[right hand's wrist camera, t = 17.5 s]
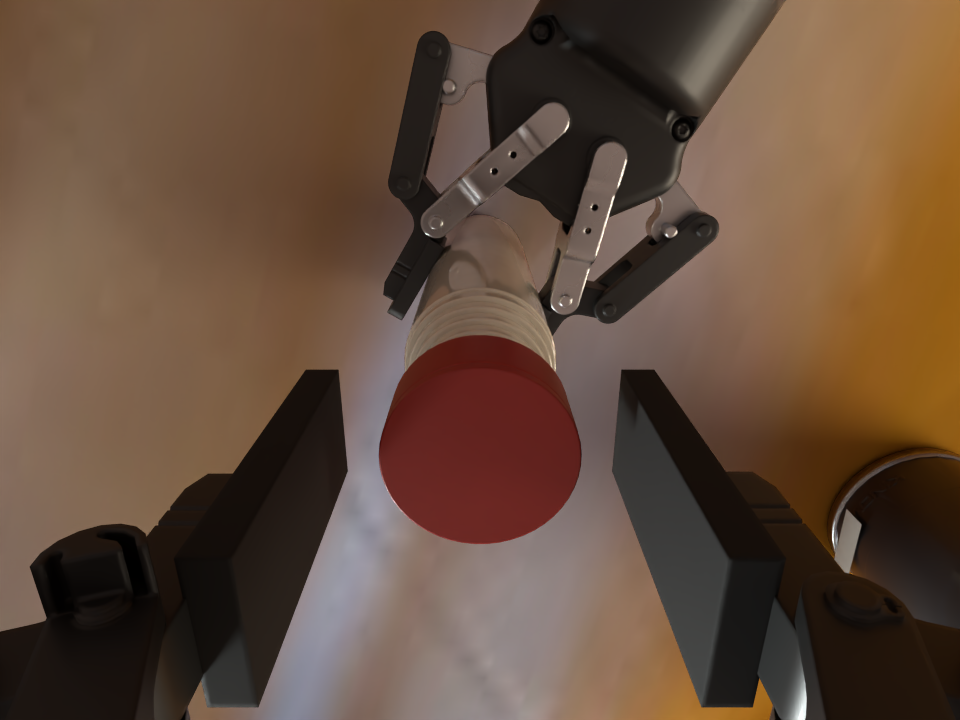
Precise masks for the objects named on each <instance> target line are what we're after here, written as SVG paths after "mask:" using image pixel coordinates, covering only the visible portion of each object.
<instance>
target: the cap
mask: <svg viewBox="0 0 960 720" xmlns="http://www.w3.org/2000/svg"><path fill="white" fill-rule="evenodd" d="M379 464H380V470H381V475H382V479H383V481H384V484H385V486H386V489H387V491H388V493H389V494H390V496H391V498H392V500H393V501H394V502H395V504H396V505H397V506H398V508H399V509H400V510H401V511H402V512H403V513H404V514H405V515H406V516H407V517H408V518H409V519H411V520H412V521H413V522H414V523H416V524H417V525H418V526H420V527H422V528H423V529H425V530H427V531H428V532H431V533H433V534H435V535H437V536H440V537H443V538H446V539H449V540H452V541H457V542H462V543H471V544H490V543H498V542H503V541H508V540H512V539H515V538H518V537H521V536H523V535H526V534H528V533H530V532H532V531H534V530H536V529H537V528H539V527H540V526H542V525H543V524H545V523H546V522H547V521H549V520H550V519H551V518H552V517H554V515H555V514H556V513H557V512H558V511H559V510H560V509H561V508H562V507H563V506H564V504H565V503H566V501H567V500H568V499H569V497H570V495H571V493H572V491H573V489H574V488H575V485H576V482H577V479H578V477H579V472H580V467H581V443H580V439H579V434H578V431H577V427H576V424H575V421H574V418H573V415H572V411H571V408H570V405H569V402H568V399H567V396H566V392H565V390H564V387H563V385H562V383H561V381H560V379H559V377H558V376H557V374H556V372H555V371H554V370H553V369H552V367H551V366H550V365H549V364H548V363H547V362H546V361H545V360H544V359H543V358H542V357H541V356H540V355H538V354H537V353H536V352H534V351H533V350H531V349H530V348H528V347H526V346H524V345H522V344H520V343H518V342H515V341H512V340H510V339H506V338H502V337H498V336H489V335H470V336H463V337H458V338H455V339H451V340H448V341H445V342H443V343H440V344H438V345H436V346H434V347H433V348H431V349H429V350H428V351H426V352H425V353H424V354H422V355H421V356H420V357H418V358H417V359H416V360H415V361H414V362H413V363H412V364H411V365H410V367H409V368H408V369H407V370H406V372H405V373H404V374H403V376H402V378H401V380H400V382H399V383H398V386H397V388H396V391H395V394H394V397H393V400H392V403H391V406H390V409H389V413H388V416H387V419H386V422H385V426H384V429H383V432H382V436H381V440H380V446H379Z"/></svg>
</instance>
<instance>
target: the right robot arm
mask: <svg viewBox="0 0 960 720" xmlns="http://www.w3.org/2000/svg"><path fill="white" fill-rule="evenodd" d="M347 472H348V469H347V458H346V447H345V436H344V425H343V414H342V403H341V392H340V381H339V370H305V372H304V373H303V375H302V376H301V377H300V379H299V380H298V382H297V383H296V385H295V386H294V387H293V389H292V390H291V392H290V393H289V394H288V396H287V397H286V399H285V400H284V402H283V403H282V404H281V406H280V407H279V409H278V410H277V412H276V413H275V414H274V416H273V417H272V419H271V420H270V422H269V423H268V424H267V426H266V427H265V429H264V430H263V432H262V433H261V434H260V436H259V437H258V439H257V440H256V442H255V443H254V444H253V446H252V447H251V449H250V450H249V451H248V453H247V454H246V456H245V457H244V459H243V460H242V461H241V463H240V464H239V466H238V467H237V469H236V470H235V471H234V473H233V474H207V475H205V476H204V477H202V478H201V479H199V480H198V481H196V482H195V483H193V484H192V485H190V486H189V487H187V488H186V489H185V490H184V491H183V492H182V493H181V495H180V496H179V497H178V498H177V500H176V501H175V502H174V503H173V504H172V506H171V509H170V511H167V512H166V513H165V514H164V516H163V517H162V518H161V519H160V521H159V524H158V526H155V527H154V528H153V529H152V531H151V532H150V533H149V534H148V536H147V537H146V534H145V533H144V532H143V531H141V530H140V529H139V528H137V527H136V526H130V525H125V524H111V525H100V526H97V527H93V528H89V529H86V530H82V531H79V532H76V533H74V534H72V535H70V536H68V537H65V538H63V539H61V540H59V541H57V542H56V543H54V544H53V545H52V546H50V547H49V548H47V549H46V550H44V551H43V552H42V553H40V555H39V556H38V557H37V558H36V560H35V561H34V562H33V563H32V565H31V566H30V569H31V572H32V575H33V578H34V581H35V584H36V587H37V590H38V593H39V596H40V599H41V602H42V605H43V608H44V611H45V614H46V617H47V619H46V621H44V622H40V623H37V624H32V625H28V626H24V627H19V628H15V629H10V630H6V631H1V632H0V720H190V716H189V711H188V705H189V703H190V701H191V699H192V697H193V695H194V693H195V691H196V689H197V687H198V685H199V683H200V681H202V686H203V690H204V695H205V699H206V704H207V707H259V704H260V702H261V699H262V696H263V694H264V691H265V688H266V686H267V683H268V680H269V678H270V675H271V672H272V670H273V667H274V665H275V662H276V659H277V657H278V654H279V651H280V649H281V646H282V643H283V641H284V638H285V635H286V633H287V630H288V628H289V625H290V622H291V620H292V617H293V614H294V612H295V609H296V606H297V604H298V601H299V599H300V596H301V593H302V591H303V588H304V585H305V583H306V580H307V577H308V575H309V572H310V569H311V567H312V564H313V562H314V559H315V556H316V554H317V551H318V548H319V546H320V543H321V540H322V538H323V535H324V532H325V530H326V527H327V525H328V522H329V519H330V517H331V514H332V511H333V509H334V506H335V503H336V501H337V498H338V495H339V493H340V490H341V488H342V485H343V482H344V480H345V477H346V474H347ZM612 472H613V474H614V477H615V480H616V482H617V485H618V488H619V490H620V493H621V495H622V498H623V501H624V503H625V506H626V509H627V511H628V514H629V517H630V519H631V522H632V525H633V527H634V530H635V532H636V535H637V538H638V540H639V543H640V546H641V548H642V551H643V554H644V556H645V559H646V562H647V564H648V567H649V569H650V572H651V575H652V577H653V580H654V583H655V585H656V588H657V591H658V593H659V596H660V599H661V601H662V604H663V606H664V609H665V612H666V614H667V617H668V620H669V622H670V625H671V628H672V630H673V633H674V635H675V638H676V641H677V643H678V646H679V649H680V651H681V654H682V657H683V659H684V662H685V665H686V667H687V670H688V672H689V675H690V678H691V680H692V683H693V686H694V688H695V691H696V694H697V696H698V699H699V702H700V704H701V707H753V704H754V699H755V695H756V690H757V686H758V681H759V678H760V680H761V682H762V684H763V686H764V688H765V690H766V692H767V694H768V696H769V698H770V700H771V702H772V704H773V707H772V711H771V716H770V720H960V629H957V628H953V627H948V626H944V625H939V624H935V623H930V622H926V621H922V620H919V619H915V618H914V617H913V616H912V614H911V613H910V611H909V610H908V609H907V607H906V606H905V604H904V603H903V602H902V601H901V600H899V599H898V598H897V597H896V596H895V595H893V594H892V593H891V592H890V591H888V590H887V589H885V588H883V587H881V586H879V585H878V584H876V583H874V582H872V581H870V580H868V579H865V578H862V577H859V576H855V575H852V574H849V573H845V572H844V571H843V570H842V569H841V567H840V566H839V565H838V564H837V563H836V561H835V560H834V559H833V558H832V556H831V555H830V554H829V553H828V551H827V550H826V549H825V548H824V546H823V545H822V544H821V543H820V541H819V540H818V539H817V538H816V537H815V535H814V534H813V533H812V532H811V530H810V529H809V528H808V527H807V525H806V524H802V519H801V518H800V517H799V516H798V514H797V513H796V512H795V511H794V509H790V504H789V503H788V502H787V501H786V499H785V498H784V497H783V496H782V495H781V493H780V492H779V491H778V490H777V488H776V487H775V486H773V485H772V484H770V483H768V482H767V481H765V480H764V479H762V478H761V477H759V476H758V475H756V474H755V473H753V472H726V471H725V470H724V469H723V467H722V466H721V464H720V463H719V461H718V460H717V459H716V457H715V456H714V454H713V453H712V451H711V450H710V449H709V447H708V446H707V444H706V443H705V442H704V440H703V439H702V437H701V436H700V434H699V433H698V432H697V430H696V429H695V427H694V426H693V424H692V423H691V422H690V420H689V419H688V417H687V416H686V414H685V413H684V412H683V410H682V409H681V407H680V406H679V404H678V403H677V402H676V400H675V399H674V397H673V396H672V394H671V393H670V392H669V390H668V389H667V387H666V386H665V385H664V383H663V382H662V380H661V379H660V377H659V376H658V375H657V373H656V372H655V370H621V381H620V392H619V403H618V414H617V425H616V436H615V447H614V458H613V469H612Z"/></svg>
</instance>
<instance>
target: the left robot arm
mask: <svg viewBox="0 0 960 720" xmlns="http://www.w3.org/2000/svg"><path fill="white" fill-rule="evenodd" d="M785 1H786V0H540V1H539V3H538V4H537V6H536V8H535V10H534V12H533V13H532V15H531V17H530V19H529V20H528V22H527V24H526V26H525V27H524V29H523V31H522V32H521V33H520V34H519V35H518V36H517V37H516V38H515V39H514V40H513V41H511V42H510V43H509V44H507V45H505V46H503V47H502V48H500V49H499V50H498V51H497V52H496V53H495V54H494V55H493V56H491V55H488V54H485V53H482V52H479V51H475V50H472V49H469V48H466V47H462V46H459V45H456V44H453V43H450V42H449V41H448V39H447V38H446V37H445V36H444V35H443V34H442V33H440V32H437V31H430V32H427V33H425V34H424V35H422V37H421V38H420V39H419V41H418V44H417V49H416V53H415V58H414V63H413V67H412V72H411V77H410V81H409V86H408V91H407V95H406V100H405V105H404V109H403V114H402V119H401V123H400V128H399V133H398V137H397V142H396V147H395V151H394V156H393V161H392V165H391V170H390V175H389V179H388V186H389V189H390V191H391V193H392V194H393V195H394V196H395V197H397V198H399V199H400V200H401V201H402V203H403V204H404V205H405V206H406V207H407V209H408V210H409V211H410V213H411V214H412V216H413V219H414V230H413V233H412V235H411V236H410V238H409V240H408V242H407V244H406V245H405V247H404V249H403V251H402V252H401V254H400V256H399V258H398V260H397V261H396V263H395V265H394V267H393V269H392V270H391V272H390V274H389V276H388V277H387V279H386V281H385V285H384V293H383V295H385V296H386V297H388V298H390V299H392V300H393V302H392V304H391V306H390V308H389V310H388V312H387V313H389V314H391V315H393V316H395V317H396V318H398V319H400V320H402V319H403V318H404V316H405V314H406V313H407V311H408V309H409V307H410V306H411V304H412V302H413V301H414V299H415V297H416V296H417V294H418V292H419V290H420V289H421V287H422V285H423V284H424V282H425V280H426V278H427V277H428V275H429V273H430V271H431V269H432V267H433V266H434V264H435V263H436V261H437V260H438V258H439V256H440V255H441V253H442V251H443V249H444V248H445V244H446V241H447V238H446V237H445V236H446V234H447V233H448V232H450V231H451V230H452V229H453V228H454V227H455V226H456V225H458V224H459V223H460V222H461V221H462V220H463V219H464V218H465V217H467V216H468V215H469V214H470V213H471V212H472V211H473V210H475V209H476V208H477V207H478V206H480V205H481V204H483V203H484V202H485V201H487V200H488V199H489V198H490V197H491V196H492V195H494V194H495V193H496V192H497V191H498V190H499V189H500V188H501V187H503V186H504V185H505V186H506V187H508V188H509V189H511V190H512V191H514V192H516V193H517V194H519V195H521V196H524V197H528V198H531V199H534V200H538V201H540V202H541V203H542V204H543V205H544V206H545V208H546V209H547V210H548V211H549V212H550V213H551V214H552V215H553V216H554V217H555V218H557V219H558V220H560V224H559V228H558V232H557V236H556V241H555V249H554V253H553V256H552V260H551V264H550V267H549V271H548V275H547V278H546V282H545V285H544V287H543V288H542V290H541V291H540V293H538V295H539V298H540V301H541V304H542V307H543V310H544V313H545V316H546V319H547V322H548V325H549V328H550V331H551V334H552V336H553V334H554V333H555V331H556V330H557V328H558V327H559V325H560V324H561V323H562V321H563V320H564V319H566V318H567V317H569V316H572V315H584V316H590V317H595V318H597V319H598V320H599V321H601V322H602V323H606V324H610V323H614V322H616V321H617V320H619V319H620V318H621V317H622V316H624V315H625V314H626V313H627V312H628V311H630V310H631V309H632V308H633V307H634V306H636V305H637V304H638V303H639V302H640V301H642V300H643V299H644V298H645V297H646V296H648V295H649V294H650V293H651V292H652V291H654V290H655V289H656V288H657V287H658V286H660V285H661V284H662V283H663V282H664V281H666V280H667V279H668V278H669V277H670V276H672V275H673V274H674V273H675V272H676V271H678V270H679V269H680V268H681V267H682V266H684V265H685V264H686V263H687V262H689V261H690V260H691V259H692V258H693V257H695V256H696V255H697V254H698V253H699V252H701V251H702V250H703V249H704V248H705V247H707V246H708V245H709V244H710V243H711V242H713V241H714V240H715V238H716V237H717V235H718V232H719V224H718V222H717V220H716V219H715V218H714V217H712V216H710V215H708V214H707V213H705V212H702V211H701V210H700V209H699V208H698V207H697V206H696V204H695V203H694V202H693V201H692V199H691V198H690V197H689V195H688V194H687V193H686V192H685V190H684V189H683V188H682V187H681V185H680V184H679V183H678V182H677V179H678V177H679V174H680V171H681V163H682V157H683V154H684V151H685V148H686V146H687V144H688V142H689V140H690V138H691V137H692V136H693V134H694V133H695V131H696V130H697V129H698V127H699V126H700V125H701V123H702V122H703V120H704V119H705V117H706V116H707V114H708V113H709V112H710V110H711V109H712V107H713V106H714V104H715V103H716V101H717V100H718V98H719V97H720V96H721V94H722V93H723V91H724V90H725V88H726V87H727V85H728V84H729V82H730V81H731V79H732V78H733V77H734V75H735V74H736V72H737V71H738V69H739V68H740V66H741V65H742V63H743V62H744V61H745V59H746V58H747V56H748V55H749V53H750V52H751V50H752V49H753V47H754V46H755V45H756V43H757V42H758V40H759V39H760V37H761V36H762V34H763V33H764V32H765V30H766V29H767V27H768V26H769V24H770V23H771V21H772V20H773V18H774V17H775V16H776V14H777V12H778V11H779V10H780V8H781V7H782V5H783V4H784V2H785ZM478 82H483V83H486V94H487V107H488V121H489V135H490V149H489V150H488V151H487V152H486V153H485V154H483V155H482V156H481V157H480V158H479V159H478V160H477V161H476V162H475V163H474V164H472V165H471V166H470V167H469V168H468V169H467V170H466V171H465V172H464V173H463V174H462V175H461V176H460V177H459V178H458V179H457V180H455V181H454V182H453V183H452V184H451V185H450V186H449V187H448V188H447V189H446V190H444V191H443V192H442V193H441V194H439V192H438V191H437V190H436V189H435V187H434V186H433V185H432V184H431V182H430V181H429V180H428V179H427V177H426V173H427V169H428V165H429V161H430V156H431V152H432V148H433V144H434V139H435V135H436V131H437V127H438V122H439V118H440V114H441V110H442V105H443V104H446V105H456V104H458V103H459V102H461V101H462V99H463V98H464V96H465V94H466V91H467V90H468V88H469V87H470V86H471V85H473V84H475V83H478ZM493 168H494V169H493ZM654 198H655V201H656V207H655V210H654V212H653V214H652V215H651V216H650V217H649V218H648V220H647V222H646V232H647V234H648V235H647V236H646V237H645V238H644V239H643V240H642V241H641V242H639V243H638V244H637V245H636V246H635V247H634V248H632V249H631V250H630V251H629V252H628V253H627V254H625V255H624V256H623V257H622V258H621V259H620V260H618V261H617V262H616V263H615V264H614V265H613V266H612V267H610V268H609V269H608V270H607V271H606V272H605V273H603V274H602V275H601V276H600V277H599V278H598V279H596V280H595V281H594V282H593V281H588V280H586V279H587V276H588V273H589V269H590V267H591V265H592V263H593V262H594V261H595V259H596V256H597V253H598V250H599V246H600V243H601V240H602V236H603V233H604V230H605V227H606V223H607V220H608V217H611V216H613V215H616V214H618V213H620V212H623V211H625V210H628V209H630V208H632V207H635V206H637V205H640V204H642V203H644V202H647V201H649V200H652V199H654ZM827 534H828V539H829V543H830V546H831V548H832V550H833V552H834V553H835V558H834V559H835V561H836V562H837V563H838V564H839V566H840V567H841V568H842V569H843V571H844V572H845V573H849V572H852V573H853V574H854V575H855V576H859V577H862V578H865V579H868V580H870V581H872V582H874V583H876V584H878V585H879V586H881V587H883V588H885V589H887V590H888V591H890V592H891V593H892V594H893V595H895V596H896V597H897V598H898V599H899V600H901V601H902V602H903V603H904V604H905V606H906V607H907V609H908V610H909V611H910V613H911V614H912V616H913V617H914V618H915V619H919V620H922V621H926V622H930V623H935V624H939V625H944V626H948V627H953V628H957V629H960V456H959V455H957V454H955V453H952V452H949V451H946V450H941V449H933V448H919V449H911V450H905V451H901V452H897V453H894V454H891V455H888V456H886V457H884V458H881V459H879V460H877V461H875V462H874V463H872V464H870V465H868V466H867V467H865V468H864V469H863V470H861V471H860V472H859V473H857V474H856V475H855V476H854V477H853V478H852V479H851V480H850V481H849V482H848V483H847V484H846V485H845V486H844V487H843V489H842V490H841V491H840V493H839V494H838V496H837V497H836V499H835V501H834V503H833V505H832V508H831V510H830V513H829V517H828V523H827Z"/></svg>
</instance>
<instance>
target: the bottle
mask: <svg viewBox="0 0 960 720" xmlns="http://www.w3.org/2000/svg"><path fill="white" fill-rule="evenodd" d="M445 237H446V238H447V241H446V244H445V248H444V249H443V251H442V253H441V255H440V256H439V258H438V260H437V261H436V263H435V264H434V266H433V267H432V269H431V271H430V273H429V276H428V279H427V282H426V285H425V288H424V291H423V294H422V297H421V300H420V303H419V306H418V309H417V312H416V315H415V318H414V320H413V323H412V326H411V329H410V332H409V335H408V338H407V342H406V347H405V372H406V370H407V369H408V368H409V367H410V365H411V364H412V363H413V362H414V361H415V360H416V359H417V358H418V357H420V356H421V355H422V354H424V353H425V352H426V351H428V350H429V349H431V348H433V347H434V346H436V345H438V344H440V343H443V342H445V341H448V340H451V339H455V338H458V337H463V336H470V335H489V336H498V337H502V338H506V339H510V340H512V341H515V342H518V343H520V344H522V345H524V346H526V347H528V348H530V349H531V350H533V351H534V352H536V353H537V354H538V355H540V356H541V357H542V358H543V359H544V360H545V361H546V362H547V363H548V364H549V365H550V366H551V367H552V369H553V370H554V371H555V370H556V352H555V345H554V341H553V337H552V334H551V331H550V328H549V325H548V322H547V319H546V316H545V313H544V310H543V307H542V304H541V301H540V298H539V295H538V292H537V289H536V286H535V283H534V280H533V277H532V274H531V271H530V268H529V265H528V262H527V259H526V256H525V253H524V250H523V247H522V244H521V242H520V240H519V238H518V236H517V234H516V233H515V232H514V230H513V229H512V228H511V227H510V226H509V225H507V224H506V223H505V222H503V221H501V220H500V219H497V218H495V217H492V216H487V215H474V216H469V217H465V218H464V219H463V220H462V221H461V222H460V223H459V224H458V225H456V226H455V227H454V228H453V229H452V230H451V231H450V232H448V233H447V234H446V236H445Z"/></svg>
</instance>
